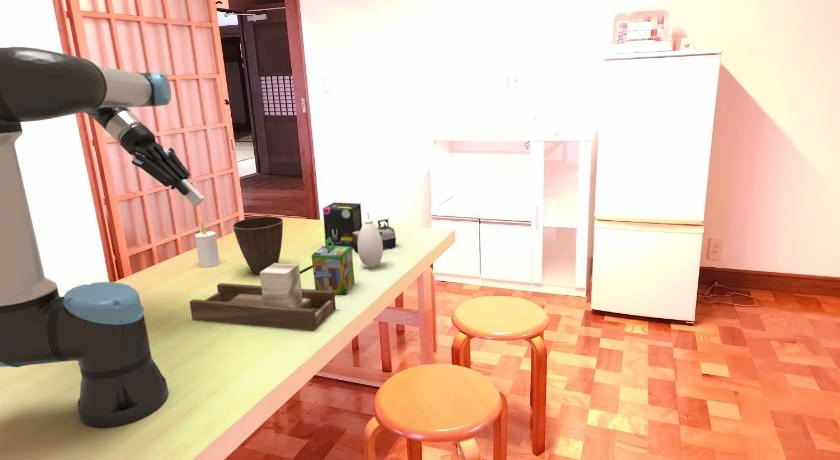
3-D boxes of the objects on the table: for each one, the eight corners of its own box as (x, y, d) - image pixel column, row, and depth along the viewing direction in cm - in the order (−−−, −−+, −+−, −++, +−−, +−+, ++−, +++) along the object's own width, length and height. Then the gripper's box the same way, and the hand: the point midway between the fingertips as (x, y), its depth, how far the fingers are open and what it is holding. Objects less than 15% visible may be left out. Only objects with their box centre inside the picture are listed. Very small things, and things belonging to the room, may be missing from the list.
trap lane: (313, 330, 132) (311, 311, 130) (192, 319, 141) (189, 301, 139) (335, 308, 144) (334, 291, 142) (222, 299, 153) (220, 283, 151)
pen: (283, 282, 165) (282, 278, 165) (321, 262, 182) (321, 259, 181) (285, 282, 165) (284, 278, 165) (324, 262, 181) (323, 259, 181)
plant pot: (230, 278, 170) (222, 228, 165) (255, 262, 184) (249, 215, 179) (274, 280, 166) (268, 229, 162) (296, 264, 180) (291, 216, 176)
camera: (358, 256, 186) (356, 227, 183) (351, 250, 192) (349, 222, 190) (399, 249, 192) (398, 221, 189) (391, 243, 198) (390, 216, 196)
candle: (224, 261, 186) (217, 218, 182) (212, 268, 180) (205, 223, 176) (208, 260, 187) (201, 217, 183) (195, 267, 181) (188, 223, 177)
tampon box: (325, 248, 196) (321, 208, 192) (336, 240, 204) (333, 202, 200) (353, 249, 193) (350, 208, 189) (363, 241, 201) (361, 202, 197)
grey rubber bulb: (387, 268, 172) (383, 212, 167) (363, 272, 170) (359, 216, 165) (379, 261, 179) (376, 207, 174) (356, 265, 177) (352, 210, 172)
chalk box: (345, 295, 153) (341, 244, 149) (314, 294, 154) (309, 243, 150) (355, 283, 161) (352, 234, 157) (326, 282, 163) (321, 234, 159)
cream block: (289, 312, 135) (285, 274, 133) (264, 310, 137) (259, 272, 135) (302, 301, 142) (298, 264, 139) (278, 299, 144) (274, 263, 141)
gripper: (144, 142, 143) (208, 206, 143) (104, 148, 131) (174, 218, 131) (157, 120, 140) (223, 186, 140) (118, 125, 128) (190, 197, 128)
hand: (199, 201), depth 136 cm, fingers closed
